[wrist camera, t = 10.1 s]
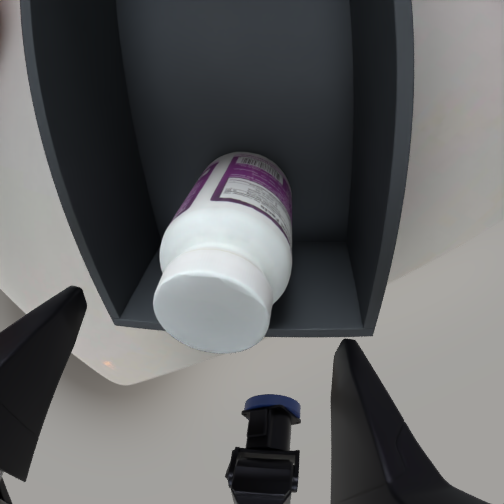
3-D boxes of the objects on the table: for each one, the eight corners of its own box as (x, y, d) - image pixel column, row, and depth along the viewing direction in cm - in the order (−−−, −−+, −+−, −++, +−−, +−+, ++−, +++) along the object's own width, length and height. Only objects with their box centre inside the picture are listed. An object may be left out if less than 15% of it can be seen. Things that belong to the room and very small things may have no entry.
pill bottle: (225, 243, 20) (186, 372, 12) (183, 171, 18) (102, 281, 10) (306, 216, 18) (311, 352, 11) (270, 134, 16) (245, 230, 8)
